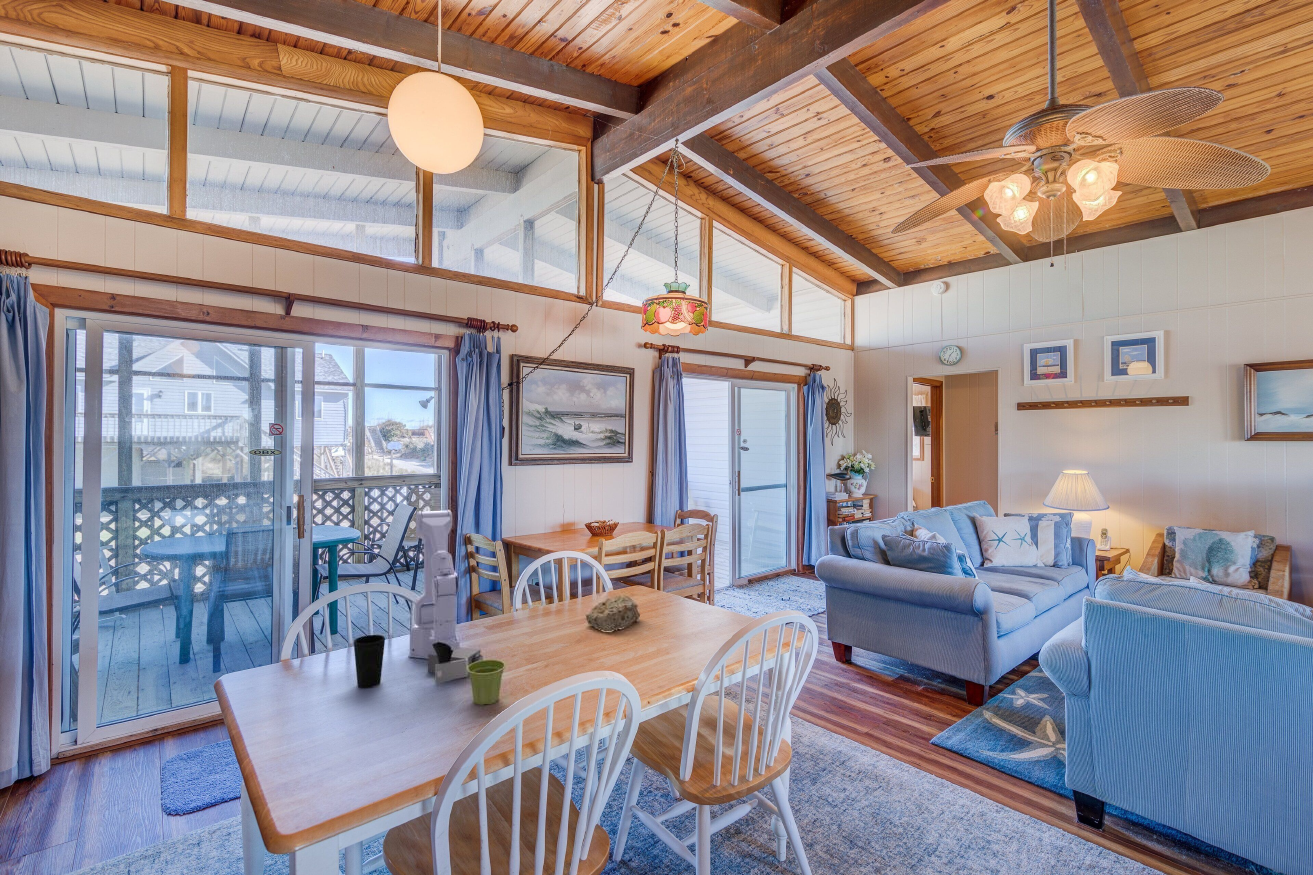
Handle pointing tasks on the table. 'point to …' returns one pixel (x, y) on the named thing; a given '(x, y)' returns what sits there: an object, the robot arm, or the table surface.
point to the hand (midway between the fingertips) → (444, 668)
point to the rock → (613, 613)
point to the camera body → (456, 657)
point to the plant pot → (486, 680)
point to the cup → (369, 660)
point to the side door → (451, 670)
